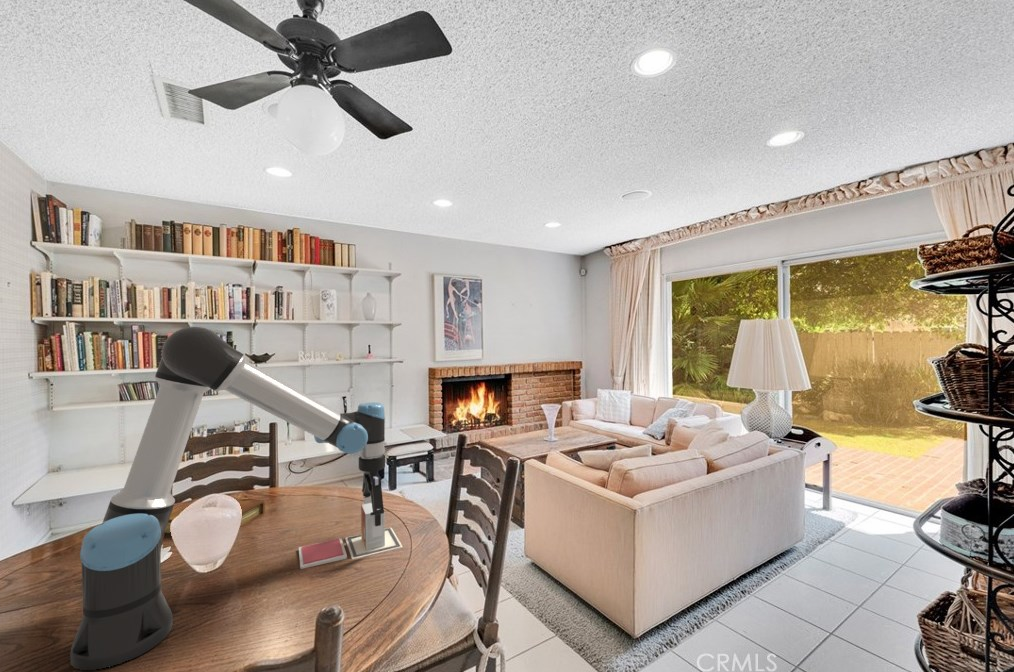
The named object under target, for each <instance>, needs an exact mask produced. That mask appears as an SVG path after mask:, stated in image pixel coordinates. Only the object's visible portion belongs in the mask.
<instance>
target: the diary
mask: <svg viewBox="0 0 1014 672" xmlns="http://www.w3.org/2000/svg"><path fill="white" fill-rule="evenodd" d="M235 499H236V500H237V501H238V502H239V503H240V506H241V509H242V524H241V528H243V527H244V526H246V525H248V524H251V523H252V522H254V521H256V520H257V519H259V518H261V517H264V515H265V514H266V502H265V500H262V499H252V498H251V499H250V498H249V499H248V498H247V499H246V498H235ZM190 504H191V503H189V504H187V505H185V506H182V507H180V508H178V509H175V510H174V511H173V510H172V512H171V515H170V518H169V521H168V524H167V528H166V531H165V533H167V534H171V533H170V523H171V521H172V520H173V519H174V518H175V517H176V516H177V515H178V514H179V513H180V512H181V511H183V510H184V509H185V508H186V507H188V506H189V505H190Z"/></svg>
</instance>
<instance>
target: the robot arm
mask: <svg viewBox="0 0 1014 672" xmlns="http://www.w3.org/2000/svg"><path fill="white" fill-rule="evenodd" d="M154 379H155V380H156V382H157V383H158V385H159V387H158V391H157V394H156V396H155V399H154V402H153V405H152V409H151V411H150V414H149V417H148V418H147V422H146V426H145V428H144V431H143V433H142V436H141V438H140V441H139V444H138V447H137V450H136V452H135V453H136V454H135V455H134V459H133V461H132V464H131V467H130V470H129V472H128V475H127V478H126V481H125V484H124V487H123V489H122V490H121V491H119V492H118V493H116V494H115V495H113V496H111V499H110V501H109V504H108V506H107V509H106V512H105V515H104V518H103V521H102V523H101V524H98V525H95V526H94V527H93V528H91V529H90V530H89V531H88V532H87V533H86V534H85V535H84V537H83V539H82V543H81V548H80V550H79V551H80V552H79V557H80V561H81V585H82V586H81V587H82V588H81V589H82V592H81V593H82V616H81V617H82V618H81V621H80V622H79V623H80V624H79V626H78V628H77V630H76V631H77V632H76V634H75V637H74V640H73V642H72V645H71V647H70V665H71V667H72V666H73V667H74V668H73V667H72V668H73V669H75V668H76V669H75V670H77V669H80V670H79V671H82V670H93V671H97V670H96V669H100V670H103V669H102V668H105V669H107V668H106V667H109V666H112V667H114V666H113V665H116V664H119V665H120V663H121V664H123V663H122V662H124V663H126V662H125V661H127V662H128V660H129V661H131V660H133V659H136V658H137V657H140V656H141V655H143V654H145V653H147V652H149V651H150V650H152V649H153V648H154V647H156V646H157V645H159V644H160V643H161V642H162V641H163V640H165V639H166V637H168V635H169V634H170V632H171V631H172V629H173V625H174V624H173V623H174V622H173V613H172V611H171V608H170V606H169V604H168V602H167V600H166V598H165V596H164V594H163V592H162V572H161V571H162V570H161V569H162V567H161V565H162V563H161V548H162V549H163V546H162V545H163V542H164V537H165V533H166V532H165V531H166V528H167V524H168V521H169V518H170V515H171V512H173V508H174V506H175V502H176V499H175V498H174V496H173V494H171V491H172V488H173V485H174V482H175V479H176V477H177V473H178V471H179V467H180V465H181V462H182V459H183V455H184V453H185V449H186V446H187V443H188V440H189V438H190V435H191V433H192V429H193V426H194V422H195V420H196V417H197V414H198V410H199V408H200V405H201V402H202V399H203V396H204V394H205V393H206V392H208V391H210V390H213V391H215V392H219V391H226V392H227V393H229V394H231V395H234V396H236V397H238V398H239V399H242V400H244V401H246V402H248V403H250V404H252V405H254V406H256V407H257V408H259V409H261V410H263V411H265V412H267V413H269V414H271V415H273V416H275V417H277V418H279V419H280V420H282V421H285V422H286V423H289V424H291V425H293V426H295V427H296V428H299V429H301V430H303V431H304V432H306V433H308V434H311V435H312V436H313V437H314V441H315V442H316V443H317V444H324V443H325V444H329V445H331V446H334V447H335V448H337V449H338V450H339V451H340V452H343V453H345V454H347V455H348V454H349V455H355V454H357V453H358V454H357V455H358V470H359V471H360V472H363V477H362V487H361V488H362V490H361V492H362V493H363V494H362V496H363V504H368V503H372V510H373V512H371V513H370V515H372V537H378V536H382V514H383V513H384V511H385V510H384V509H385V508H384V499H383V489H382V477H381V475H380V474H379V471H381V470H383V469H384V468H385V467H386V455H385V453H386V451H385V449H386V448H385V446H387V442H386V441H385V430H386V427H385V426H386V425H385V424H386V416H385V406H384V404H383V403H380V402H375V401H374V402H365V403H360V404H359V405H357V406H358V407H357V410H356V411H353V412H345V413H343V412H342V413H340V412H339V411H336V410H334V409H332V408H331V407H329V406H327V405H326V404H324V403H322V402H320V401H319V400H317V399H315V398H313V397H311V396H309V395H308V394H306V393H304V392H303V391H300V390H298V389H297V388H295V387H293V386H291V385H290V384H288V383H286V382H285V381H283V380H280V378H277V377H275V376H274V375H272V374H271V373H268V372H267V371H265V370H264V369H262V368H259V367H258V366H256V365H254V364H253V363H251V362H249V361H248V360H247V359H246V355H245V354H244V353H242V352H240V351H239V350H238V349H236V348H234V347H232V346H231V345H230V344H228V343H227V342H226V341H225V340H223V339H222V338H221V337H220V336H219V334H217V333H216V332H214V331H213V330H211V329H208V328H205V327H202V326H186V327H182V328H180V329H177V330H176V331H174V332H172V333H171V334H170V335H169V336H168V337H167V338H166V340H165V341H164V343H163V345H162V348H161V359H160V361H159V364H158V367H157V370H156V372H155V376H154ZM377 509H379V510H377ZM116 666H117V665H116ZM109 668H110V667H109Z"/></svg>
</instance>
